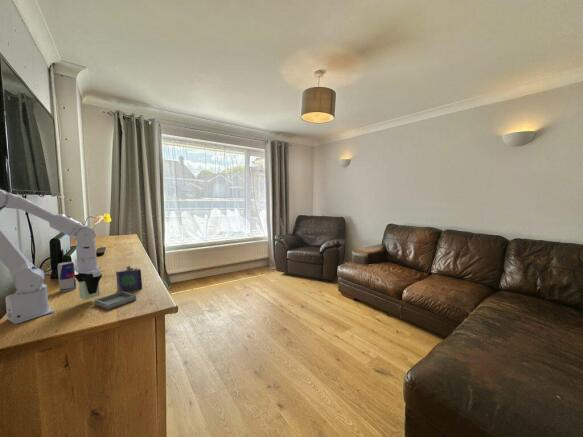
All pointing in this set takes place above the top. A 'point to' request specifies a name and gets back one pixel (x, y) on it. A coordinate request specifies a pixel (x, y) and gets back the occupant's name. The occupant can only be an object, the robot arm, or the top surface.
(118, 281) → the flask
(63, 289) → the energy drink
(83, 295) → the green block
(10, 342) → the top surface
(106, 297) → the dish
